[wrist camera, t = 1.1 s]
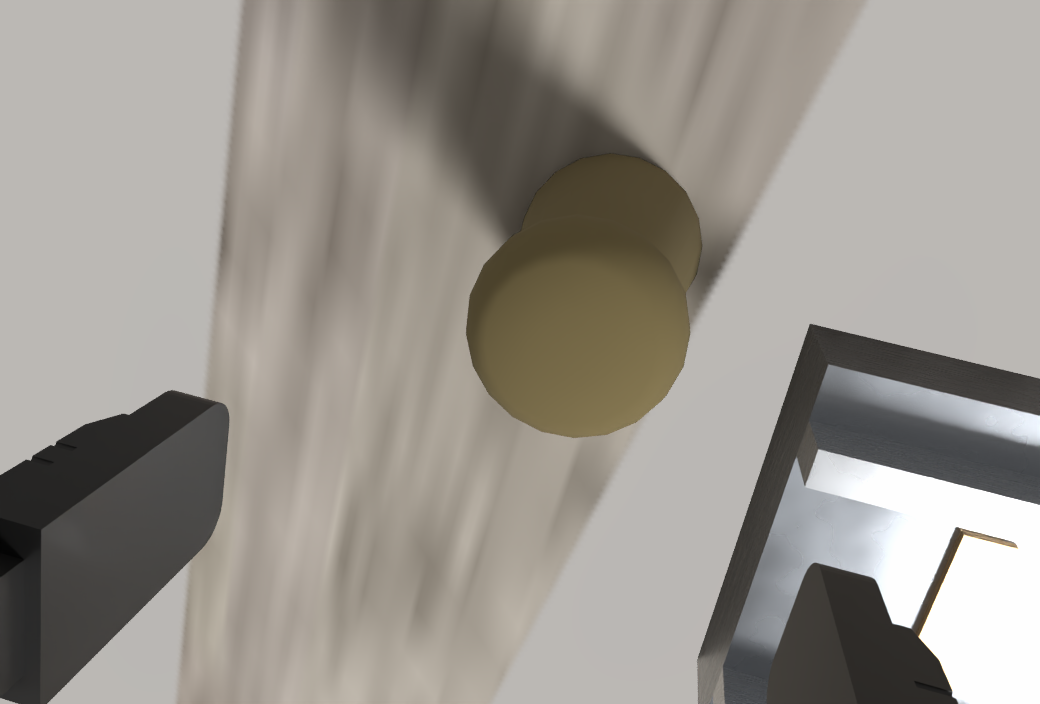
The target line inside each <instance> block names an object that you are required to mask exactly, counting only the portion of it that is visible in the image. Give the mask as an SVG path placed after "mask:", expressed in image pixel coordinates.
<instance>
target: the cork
mask: <svg viewBox="0 0 1040 704" xmlns="http://www.w3.org/2000/svg"><path fill="white" fill-rule="evenodd" d="M701 250H702V241H701V233H700V225H699V218H698V216H697V214H696V212H695V210H694V208H693V206H692V203H691V201H690V199H689V197H688V195H687V193H686V192H685V191H684V190H683V188H682V187H681V186H680V185H679V184H678V183H677V182H676V181H675V180H674V179H673V178H672V177H671V176H670V175H669V174H668V173H667V172H666V171H664V170H662V169H660V168H658V167H656V166H654V165H652V164H650V163H648V162H646V161H645V160H643V159H641V158H637V157H631V156H624V155H617V154H611V153H610V154H604V155H598V156H592V157H586V158H581V159H579V160H577V161H575V162H574V163H572V164H570V165H568V166H566V167H564V168H562V169H560V170H559V171H557V172H555V173H554V174H553V175H552V177H551V178H550V179H549V180H548V181H547V182H546V183H545V184H544V185H543V186H542V187H541V188H540V189H539V190H538V191H537V192H536V194H535V196H534V198H533V200H532V202H531V205H530V207H529V209H528V211H527V213H526V215H525V217H524V221H523V225H522V229H521V231H520V232H518V233H517V234H515V235H513V236H512V237H511V238H510V239H508V240H507V241H506V242H505V243H504V245H503V246H502V247H501V248H500V249H499V250H498V251H497V252H496V253H495V254H494V255H493V256H492V257H491V258H490V259H489V260H488V261H487V262H486V263H485V264H484V266H483V268H482V270H481V272H480V274H479V277H478V279H477V281H476V283H475V285H474V287H473V289H472V292H471V294H470V299H469V308H468V318H467V327H466V336H467V340H468V345H469V350H470V354H471V359H472V364H473V367H474V369H475V371H476V372H477V374H478V376H479V378H480V379H481V381H482V383H483V385H484V386H485V388H486V390H487V392H488V393H489V395H490V396H491V397H492V398H493V399H494V400H496V401H497V402H498V403H499V404H500V405H501V406H502V407H503V408H504V409H505V410H506V411H507V412H508V413H509V414H510V415H511V416H512V417H514V418H516V419H518V420H520V421H522V422H524V423H526V424H528V425H530V426H532V427H534V428H536V429H537V430H539V431H541V432H546V433H551V434H556V435H562V436H567V437H572V438H578V437H588V436H598V435H607V434H609V433H612V432H614V431H616V430H619V429H621V428H624V427H626V426H628V425H631V424H633V423H636V422H637V421H638V420H640V419H641V418H642V417H643V416H644V415H645V414H647V413H648V412H649V411H650V410H651V409H652V408H654V407H655V406H656V405H657V404H658V403H659V402H661V401H662V400H663V398H664V397H665V396H666V395H667V394H668V392H669V390H670V388H671V387H672V385H673V383H674V382H675V380H676V378H677V377H678V375H679V373H680V372H681V370H682V368H683V366H684V361H685V357H686V352H687V347H688V342H689V337H690V324H689V316H688V309H687V301H686V292H687V290H688V288H689V287H690V285H691V283H692V281H693V280H694V278H695V276H696V274H697V270H698V265H699V260H700V255H701Z"/></svg>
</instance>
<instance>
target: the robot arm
mask: <svg viewBox="0 0 1040 704" xmlns="http://www.w3.org/2000/svg"><path fill="white" fill-rule="evenodd" d="M228 431H229V413H228V409H227V407H226V406H225V405H224V404H223V403H219V402H215V401H212V400H208V399H204V398H200V397H197V396H193V395H189V394H185V393H182V392H178V391H173V390H171V391H167V392H165V393H163V394H162V395H160V396H159V397H157V398H156V399H154V400H152V401H151V402H149V403H148V404H146V405H145V406H143V407H141V408H140V409H138V410H136V411H135V412H133V413H132V414H130V415H127V414H121V415H117V416H114V417H110V418H107V419H103V420H99V421H96V422H92V423H89V424H85V425H83V426H82V427H80V428H78V429H77V430H75V431H74V432H72V433H70V434H68V435H67V436H65V437H63V438H62V439H60V440H58V441H57V442H56V445H55V446H52V445H50V446H48V447H47V448H45V449H43V450H42V451H40V452H39V453H37V454H35V455H33V457H32V460H31V461H30V460H25V461H23V462H22V463H20V464H18V465H17V466H15V467H13V468H12V469H10V470H8V471H7V472H5V473H3V474H2V475H0V698H2V699H5V700H9V701H12V702H15V703H18V704H47V703H48V702H49V701H50V700H51V699H52V698H53V697H54V696H55V695H56V694H57V693H58V692H59V691H60V690H61V689H62V688H63V687H64V686H65V685H66V684H67V683H68V682H69V681H70V680H71V679H72V678H73V677H74V676H75V675H76V674H77V673H78V672H79V671H80V670H81V669H82V668H83V667H84V666H85V665H86V664H87V663H88V662H89V661H90V660H91V659H92V658H93V657H94V656H95V655H96V654H97V653H98V652H99V651H100V650H101V649H102V648H103V647H104V646H105V645H106V644H107V643H108V642H109V641H110V640H111V639H112V638H113V637H114V636H115V635H116V634H117V633H118V632H119V631H120V630H121V629H122V628H123V627H124V626H125V625H126V624H127V623H128V622H129V621H130V620H131V619H132V618H133V617H134V616H135V615H136V614H137V613H138V612H139V611H140V610H141V609H142V608H143V607H144V606H145V605H146V604H147V603H148V602H149V601H150V600H151V599H152V598H153V597H154V596H155V595H156V594H157V593H158V592H159V591H160V590H161V589H162V588H163V587H164V586H165V585H166V584H167V583H168V582H169V581H170V580H171V579H172V578H173V577H174V576H175V575H176V574H177V573H178V572H179V571H180V570H181V569H182V568H183V567H184V566H185V565H186V564H187V563H188V562H189V561H190V560H191V559H192V558H193V557H194V556H195V555H196V554H197V553H198V552H199V551H200V550H201V549H202V548H203V547H204V546H205V544H206V543H207V541H208V540H209V538H210V537H211V535H212V533H213V531H214V529H215V526H216V524H217V521H218V519H219V515H220V511H221V507H222V499H223V488H224V476H225V465H226V454H227V442H228ZM952 694H953V690H952V688H951V685H950V683H949V681H948V678H947V676H946V674H945V672H944V669H943V667H942V665H941V662H940V660H939V659H938V658H937V657H936V655H935V654H934V653H933V652H932V651H931V650H930V649H929V648H928V647H927V646H926V644H925V643H924V642H923V641H922V640H921V639H920V638H919V637H918V636H917V635H916V633H915V632H914V631H913V630H912V629H911V628H908V627H905V626H901V625H897V624H894V623H892V621H891V618H890V615H889V613H888V610H887V607H886V605H885V602H884V600H883V597H882V594H881V592H880V589H879V586H878V584H877V582H876V580H875V579H874V578H872V577H869V576H865V575H861V574H857V573H854V572H850V571H846V570H842V569H839V568H835V567H831V566H827V565H823V564H820V563H816V562H815V563H813V564H811V565H810V566H809V568H808V569H807V571H806V573H805V575H804V578H803V580H802V583H801V585H800V588H799V591H798V594H797V596H796V599H795V602H794V605H793V607H792V610H791V613H790V615H789V618H788V621H787V624H786V626H785V629H784V632H783V634H782V637H781V640H780V643H779V645H778V648H777V651H776V654H775V656H774V659H773V662H772V666H771V670H770V675H769V680H768V687H767V704H958V702H957V699H956V698H954V697H952Z"/></svg>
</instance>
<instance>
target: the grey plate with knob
mask: <svg viewBox="0 0 1040 704" xmlns="http://www.w3.org/2000/svg"><path fill="white" fill-rule="evenodd" d="M815 562H816V563H820V564H823V565H827V566H831V567H835V568H839V569H842V570H846V571H850V572H854V573H857V574H861V575H865V576H869V577H872V578H874V579H875V580H876V582H877V584H878V586H879V589H880V592H881V594H882V597H883V600H884V602H885V605H886V607H887V610H888V613H889V615H890V618H891V621H892V623H894V624H897V625H901V626H905V627H908V628H911V629H912V630H913V631H914V632H915V633H916V635H917V636H918V637H919V638H920V639H921V640H922V641H923V642H924V643H925V644H926V646H927V647H928V648H929V649H930V650H931V651H932V652H933V653H934V654H935V655H936V657H937V658H938V659H939V660H940V662H941V665H942V667H943V669H944V672H945V674H946V676H947V678H948V681H949V683H950V685H951V688H952V690H953V694H952V697H954V698H956V699H957V702H958V704H1040V379H1038V378H1034V377H1030V376H1026V375H1022V374H1018V373H1013V372H1009V371H1005V370H1000V369H997V368H992V367H988V366H984V365H980V364H975V363H971V362H967V361H963V360H959V359H955V358H950V357H946V356H942V355H938V354H934V353H930V352H925V351H921V350H917V349H913V348H909V347H905V346H900V345H896V344H892V343H887V342H883V341H880V340H875V339H871V338H867V337H863V336H859V335H854V334H850V333H846V332H842V331H838V330H834V329H829V328H825V327H821V326H817V325H813V324H810V325H809V328H808V331H807V335H806V337H805V340H804V344H803V346H802V349H801V352H800V355H799V358H798V361H797V364H796V367H795V370H794V373H793V376H792V379H791V382H790V385H789V388H788V391H787V394H786V397H785V400H784V403H783V406H782V409H781V412H780V415H779V418H778V421H777V424H776V427H775V430H774V433H773V436H772V439H771V442H770V445H769V448H768V451H767V454H766V457H765V460H764V463H763V466H762V469H761V472H760V475H759V477H758V480H757V483H756V487H755V489H754V492H753V495H752V498H751V502H750V504H749V507H748V510H747V513H746V516H745V519H744V522H743V525H742V528H741V531H740V534H739V537H738V540H737V543H736V546H735V549H734V552H733V555H732V558H731V561H730V564H729V567H728V570H727V573H726V576H725V579H724V582H723V585H722V588H721V591H720V594H719V597H718V600H717V603H716V606H715V609H714V612H713V615H712V618H711V620H710V623H709V627H708V629H707V633H706V635H705V639H704V641H703V644H702V647H701V650H700V653H699V656H698V660H697V661H698V662H697V663H698V704H767V687H768V680H769V675H770V670H771V666H772V662H773V659H774V656H775V654H776V651H777V648H778V645H779V643H780V640H781V637H782V634H783V632H784V629H785V626H786V624H787V621H788V618H789V615H790V613H791V610H792V607H793V605H794V602H795V599H796V596H797V594H798V591H799V588H800V585H801V583H802V580H803V578H804V575H805V573H806V571H807V569H808V568H809V566H810V565H811V564H813V563H815Z"/></svg>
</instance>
